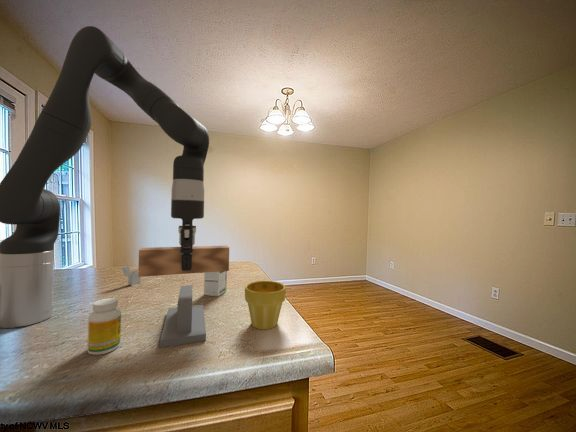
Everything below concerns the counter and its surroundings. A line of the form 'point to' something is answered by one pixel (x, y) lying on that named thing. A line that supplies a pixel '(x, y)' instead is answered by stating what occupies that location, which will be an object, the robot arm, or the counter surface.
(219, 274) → the syrup box
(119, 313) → the supplement bottle
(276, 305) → the plant pot
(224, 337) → the counter surface
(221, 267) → the wooden beam
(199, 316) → the ridge stand
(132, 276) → the lighter
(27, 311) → the robot arm
